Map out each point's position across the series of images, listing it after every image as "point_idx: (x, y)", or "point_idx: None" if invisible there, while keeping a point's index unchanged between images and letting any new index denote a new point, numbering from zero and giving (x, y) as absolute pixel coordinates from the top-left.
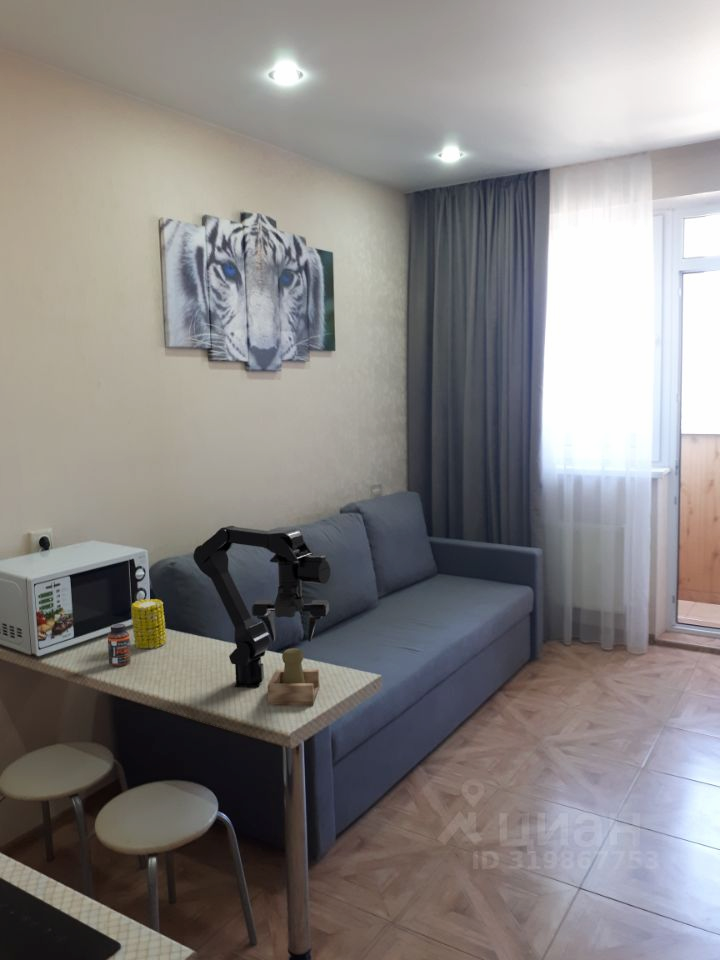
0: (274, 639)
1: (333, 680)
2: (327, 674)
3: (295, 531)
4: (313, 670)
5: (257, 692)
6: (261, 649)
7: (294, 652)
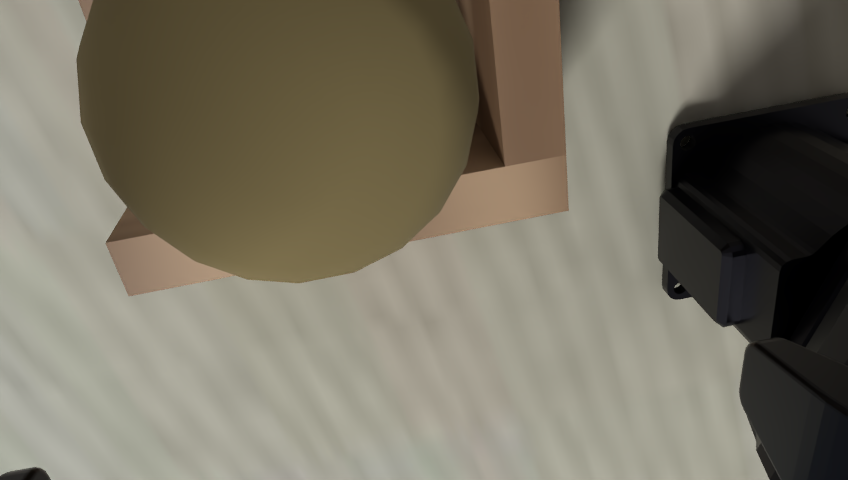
0: (757, 382)
1: (129, 360)
2: (228, 439)
3: None
4: (167, 260)
5: (654, 21)
6: (838, 338)
7: (182, 23)
